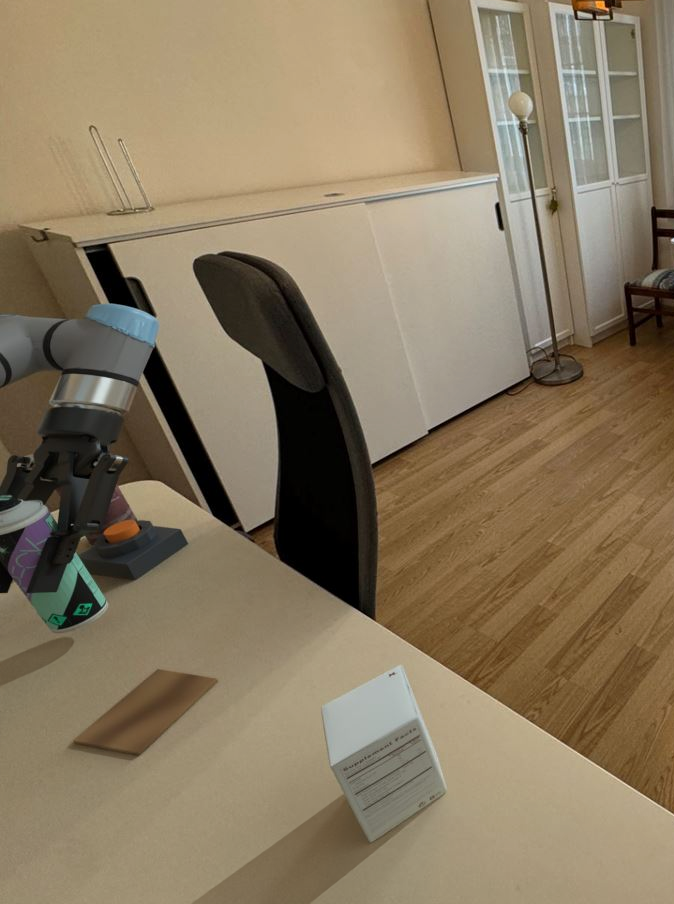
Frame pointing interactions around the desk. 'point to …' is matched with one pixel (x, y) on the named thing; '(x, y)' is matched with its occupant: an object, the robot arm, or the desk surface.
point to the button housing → (133, 552)
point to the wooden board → (146, 712)
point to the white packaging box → (382, 752)
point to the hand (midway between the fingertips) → (16, 592)
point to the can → (111, 514)
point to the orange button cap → (121, 531)
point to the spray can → (19, 548)
